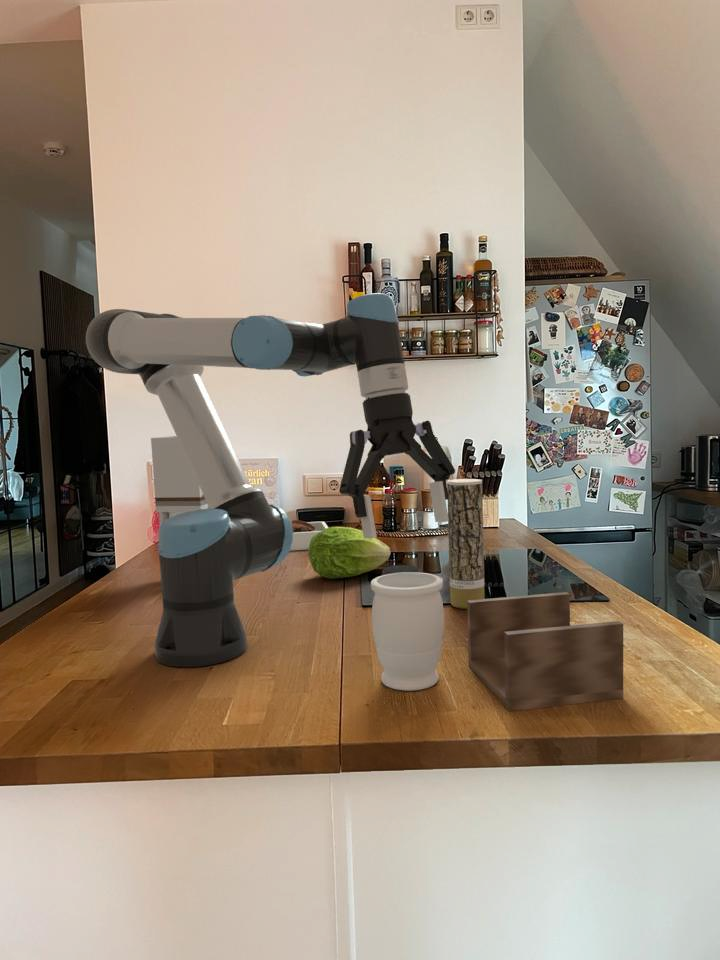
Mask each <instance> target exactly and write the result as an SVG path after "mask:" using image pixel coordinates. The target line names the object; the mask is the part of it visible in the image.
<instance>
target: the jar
mask: <svg viewBox="0 0 720 960" xmlns="http://www.w3.org/2000/svg"><path fill="white" fill-rule="evenodd" d="M443 581H444V579H443V577H441V576H438V575H437V574H433V573H427V572H422V573H419V572H402V573H392V574H386V575H382V574H381V575H380V576H376V577H375V578H373V579H372V580H371V581H370V588H371V590H372V592H374V596H373V599H372V609H371V628H372V634H373V639H374V643H375V649H376V654H377V658H378V661H379V663H380V666H381V667H382V669H383V672H382V674H381V677H380V680H381V683H382V684H383V685H384V686H386V687H388V688H389V689H393V690H398V691H409V692H411V691H420V690H426V689H428V688H430V687H432V686H434V685H435V684H436V683H438V682H439V674H438V672H437V669H436V668H437V666H438V663H439V662H440V658H441V654H442V646H443V643H442V642H443V639H444V633H445V612H444V611H445V610H444V605H443V599H442V596H441V593H440V590H442V589H443V587H444V583H443Z"/></svg>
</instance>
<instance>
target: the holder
mask: <svg viewBox="0 0 720 960" xmlns="http://www.w3.org/2000/svg"><path fill="white" fill-rule="evenodd" d="M570 595H571V594H570V593H569V592H567V591H566V592H565V591H564V592H563V591H562V592H550V593H540V594H539V593H537V594H528V595H518V596H517V595H515V596H506V597H503V596H502V597H494V598H493V597H492V598H485V599H480V600H468V601H467V609H466V610H467V611H466V612H467V613H466V615H467V644H468V646H467V648H468V649H467V653H468V667H469V668H470V669H471V670H472V671H473V672H474V674H475V675H476V676H477V677H478V679H480V680H481V682H482V683H483V684H484V685H485V686H486V687H487V688H488V689H489V690H490V691H491V692H492V694H493V695H494V696H495V698H497V699H498V700H499V702H500V703H501V704H502V705H503V706H504V708H505V709H506V710H507V711H508V712H513V711H514V712H515V711H516V712H517V711H524V710H530V709H531V710H532V709H539V708H548V707H550V708H551V707H558V706H568V705H575V704H584V703H594V702H601V701H602V702H603V701H610V700H618V699H619V700H620V699H624V623H622V622H621V621H619V620H617V621H616V620H615V621H607V622H596V623H595V622H594V623H583V624H574V625H571V604H570V603H571V602H570V601H571V597H570Z"/></svg>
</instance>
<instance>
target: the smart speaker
mask: <svg viewBox="0 0 720 960" xmlns="http://www.w3.org/2000/svg"><path fill="white" fill-rule="evenodd" d="M402 572H419V573H423V572H422V570H421V568H419V567H418V566H415V565H409V564H406V565H405V564H401V565H400V564H398V565H390V566H387V567H385V568H384V569H383V570H382V571H381V576H382V575H386V574H392V573H402Z"/></svg>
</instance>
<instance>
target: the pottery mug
mask: <svg viewBox="0 0 720 960" xmlns="http://www.w3.org/2000/svg"><path fill="white" fill-rule="evenodd" d="M307 522H308V521H307ZM307 522H306V521H303V520H299V519H293V520H292V522H291V523H292V524H291V525H292V529H293V533H297V532H312V531H314V529H315V527H314V526H312V525H311V524H309V523H307Z"/></svg>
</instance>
